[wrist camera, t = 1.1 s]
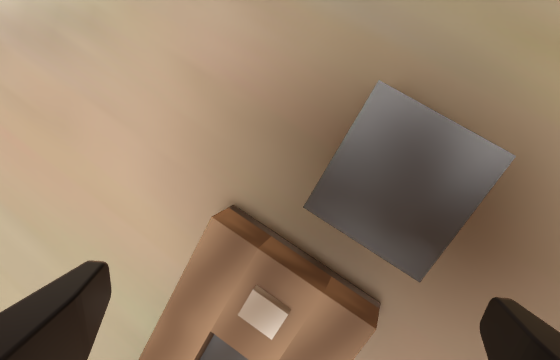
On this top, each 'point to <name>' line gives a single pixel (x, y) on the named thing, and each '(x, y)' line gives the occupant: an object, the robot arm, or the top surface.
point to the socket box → (259, 301)
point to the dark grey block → (406, 180)
